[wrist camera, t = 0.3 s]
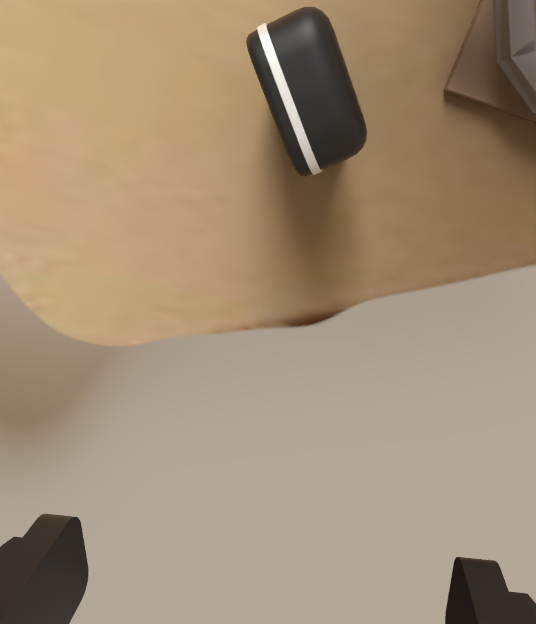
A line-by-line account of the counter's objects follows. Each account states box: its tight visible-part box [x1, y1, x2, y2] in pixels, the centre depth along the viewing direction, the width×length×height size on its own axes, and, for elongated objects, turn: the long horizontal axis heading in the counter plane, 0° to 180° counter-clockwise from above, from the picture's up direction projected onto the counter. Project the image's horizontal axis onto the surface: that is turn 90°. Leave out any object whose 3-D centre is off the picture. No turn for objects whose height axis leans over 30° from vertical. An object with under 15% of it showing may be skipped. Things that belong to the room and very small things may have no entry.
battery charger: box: [246, 7, 367, 176], centre depth 27 cm, size 7×4×11 cm, turn 23°
